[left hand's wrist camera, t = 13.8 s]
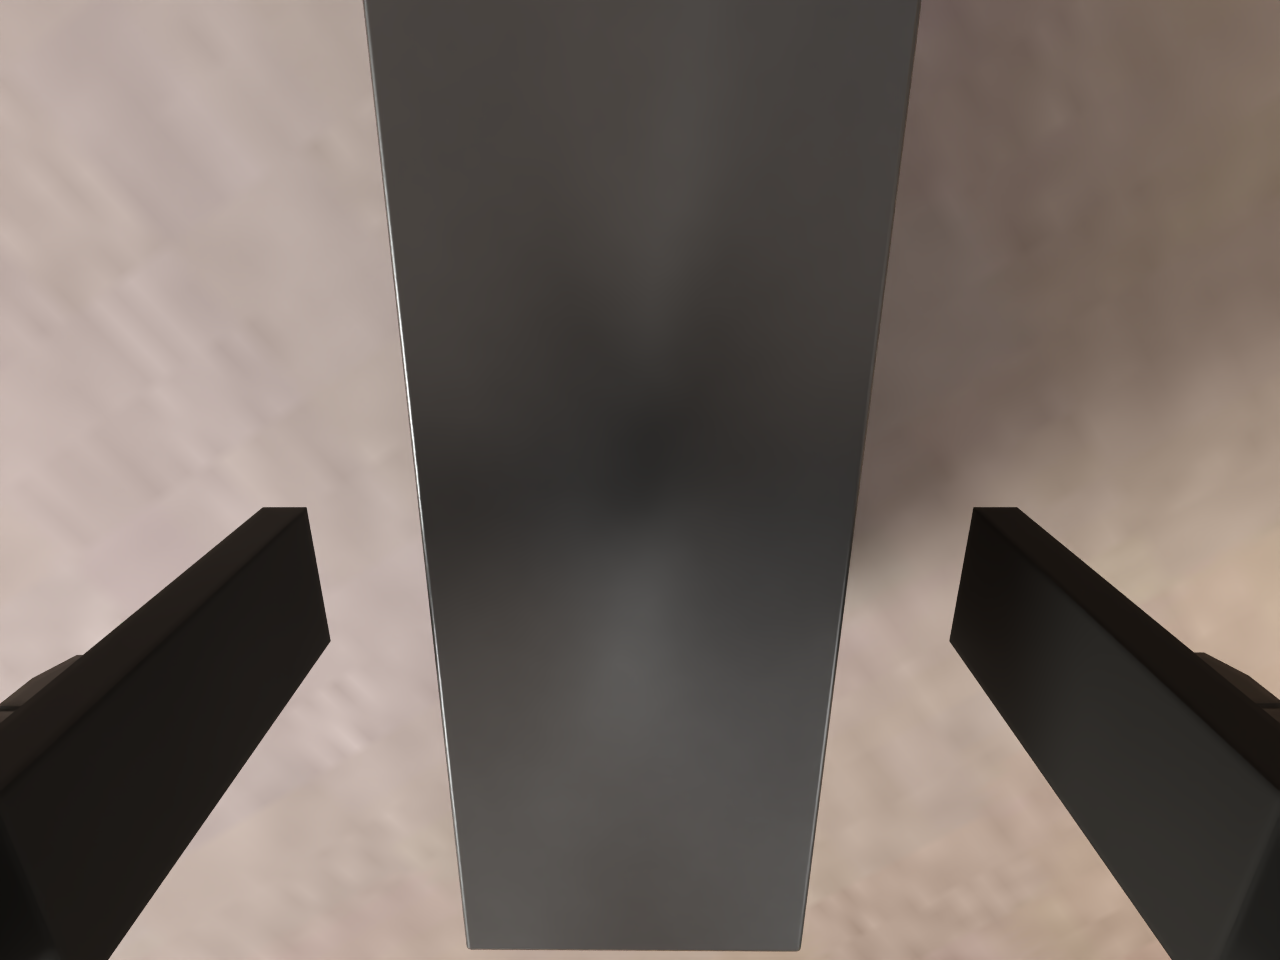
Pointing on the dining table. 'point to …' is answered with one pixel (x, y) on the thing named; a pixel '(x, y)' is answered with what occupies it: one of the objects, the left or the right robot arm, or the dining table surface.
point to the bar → (638, 435)
